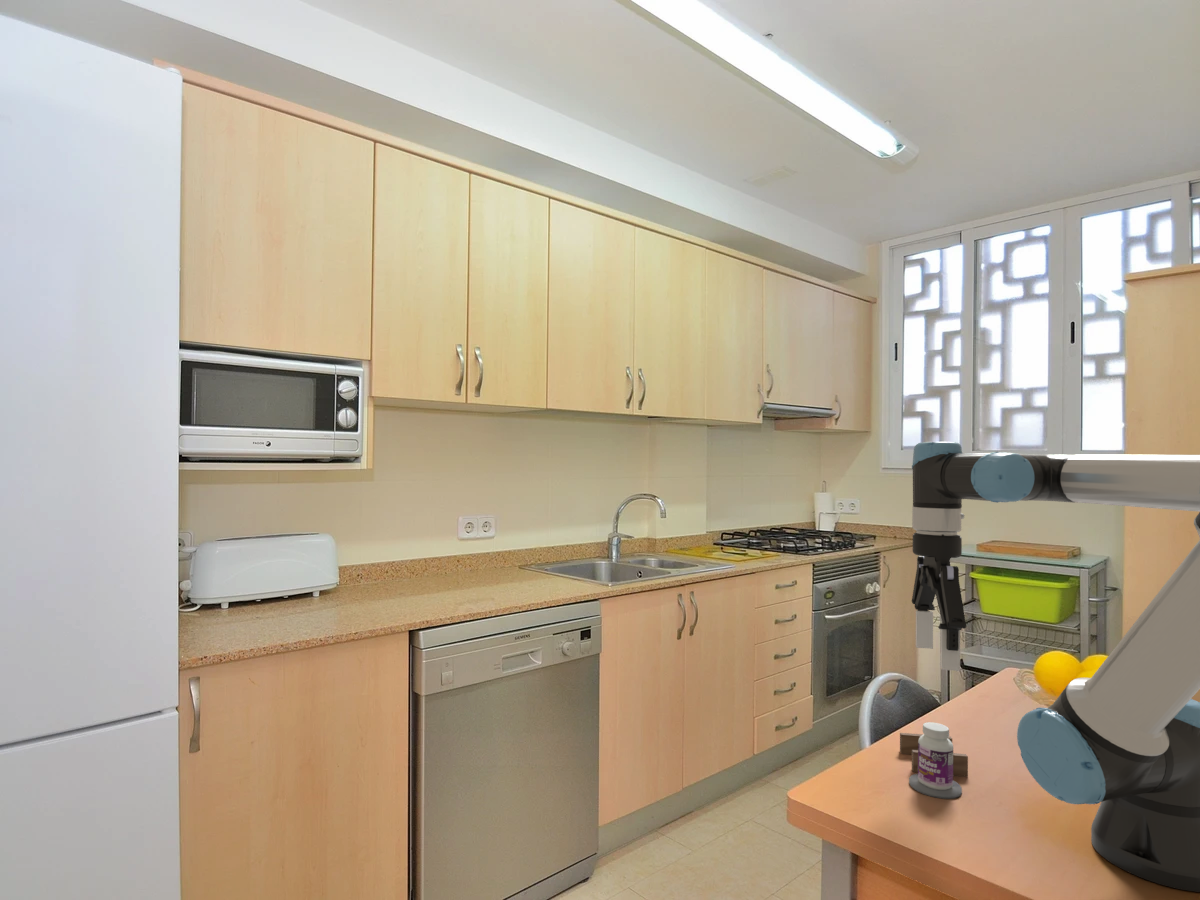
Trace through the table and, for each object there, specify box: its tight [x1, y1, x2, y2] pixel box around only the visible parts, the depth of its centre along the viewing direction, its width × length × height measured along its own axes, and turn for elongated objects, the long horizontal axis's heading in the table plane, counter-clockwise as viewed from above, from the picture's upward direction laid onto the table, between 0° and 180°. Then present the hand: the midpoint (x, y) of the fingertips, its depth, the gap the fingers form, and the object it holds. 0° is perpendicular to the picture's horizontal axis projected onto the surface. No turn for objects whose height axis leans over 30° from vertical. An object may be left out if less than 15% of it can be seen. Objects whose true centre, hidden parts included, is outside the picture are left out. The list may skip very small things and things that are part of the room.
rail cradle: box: [899, 732, 969, 777], centre depth 125 cm, size 9×9×4 cm
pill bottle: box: [917, 721, 954, 790], centre depth 116 cm, size 5×5×10 cm
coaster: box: [908, 773, 963, 800], centre depth 116 cm, size 8×8×1 cm
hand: (936, 658), depth 116 cm, fingers open, 13 cm apart
